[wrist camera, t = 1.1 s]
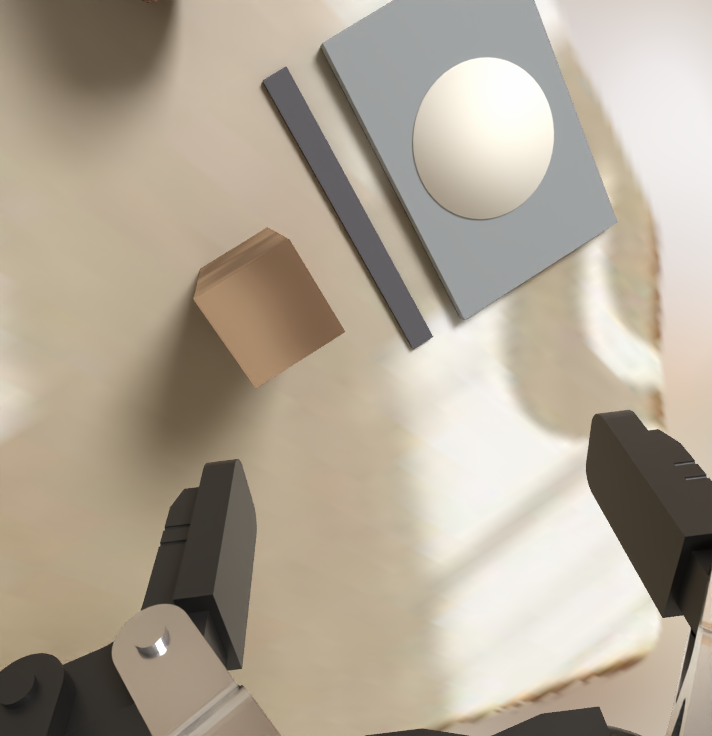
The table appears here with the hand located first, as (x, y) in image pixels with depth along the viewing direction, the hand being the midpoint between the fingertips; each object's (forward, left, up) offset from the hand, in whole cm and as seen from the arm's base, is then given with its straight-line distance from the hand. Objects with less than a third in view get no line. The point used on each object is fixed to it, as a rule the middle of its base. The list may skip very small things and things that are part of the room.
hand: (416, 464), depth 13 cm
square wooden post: (-1, +2, -24) cm, 24 cm away
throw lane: (+13, +2, -24) cm, 27 cm away
